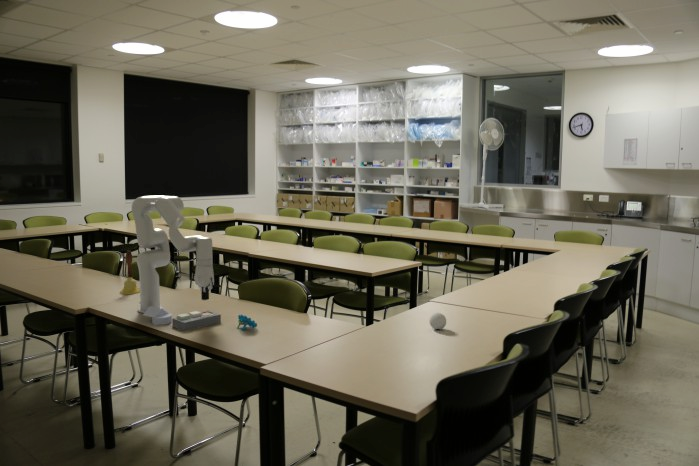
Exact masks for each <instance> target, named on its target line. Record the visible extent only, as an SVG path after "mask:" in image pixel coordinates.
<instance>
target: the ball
mask: <svg viewBox="0 0 699 466" xmlns="http://www.w3.org/2000/svg"><path fill="white" fill-rule="evenodd" d="M429 325H430V326H431V328H432V329H433V330H436V329H440V330H442V329H444V328H445V327H446V326H447V318H446V316H445V315H444V314H443V313H441V312H436V313H432V314H431V316H430V317H429Z"/></svg>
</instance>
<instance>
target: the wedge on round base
mask: <svg viewBox="0 0 699 466" xmlns="http://www.w3.org/2000/svg"><path fill="white" fill-rule="evenodd" d="M172 315H173V314H172V313H169V312H167V311H166V310H164V308H163V309H160V308H155V307H149V308H148V309H147V310H146V311H145V313H142V316H145V317H148V318H149V317H150V318H151V323H152V324H153V325H156V326H162V325H167V324H168V325H169V324H171V323H173V321H172V318H173V317H172Z"/></svg>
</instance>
